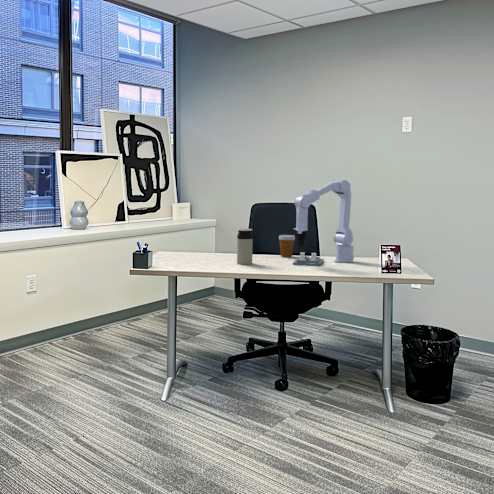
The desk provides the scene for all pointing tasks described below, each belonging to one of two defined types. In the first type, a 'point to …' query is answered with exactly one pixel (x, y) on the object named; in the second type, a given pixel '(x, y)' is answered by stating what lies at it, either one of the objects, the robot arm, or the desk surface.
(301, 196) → the robot arm
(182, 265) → the desk surface
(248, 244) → the travel mug
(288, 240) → the disposable coffee cup
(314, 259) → the tab
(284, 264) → the desk surface
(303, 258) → the tab
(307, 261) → the switch bank
